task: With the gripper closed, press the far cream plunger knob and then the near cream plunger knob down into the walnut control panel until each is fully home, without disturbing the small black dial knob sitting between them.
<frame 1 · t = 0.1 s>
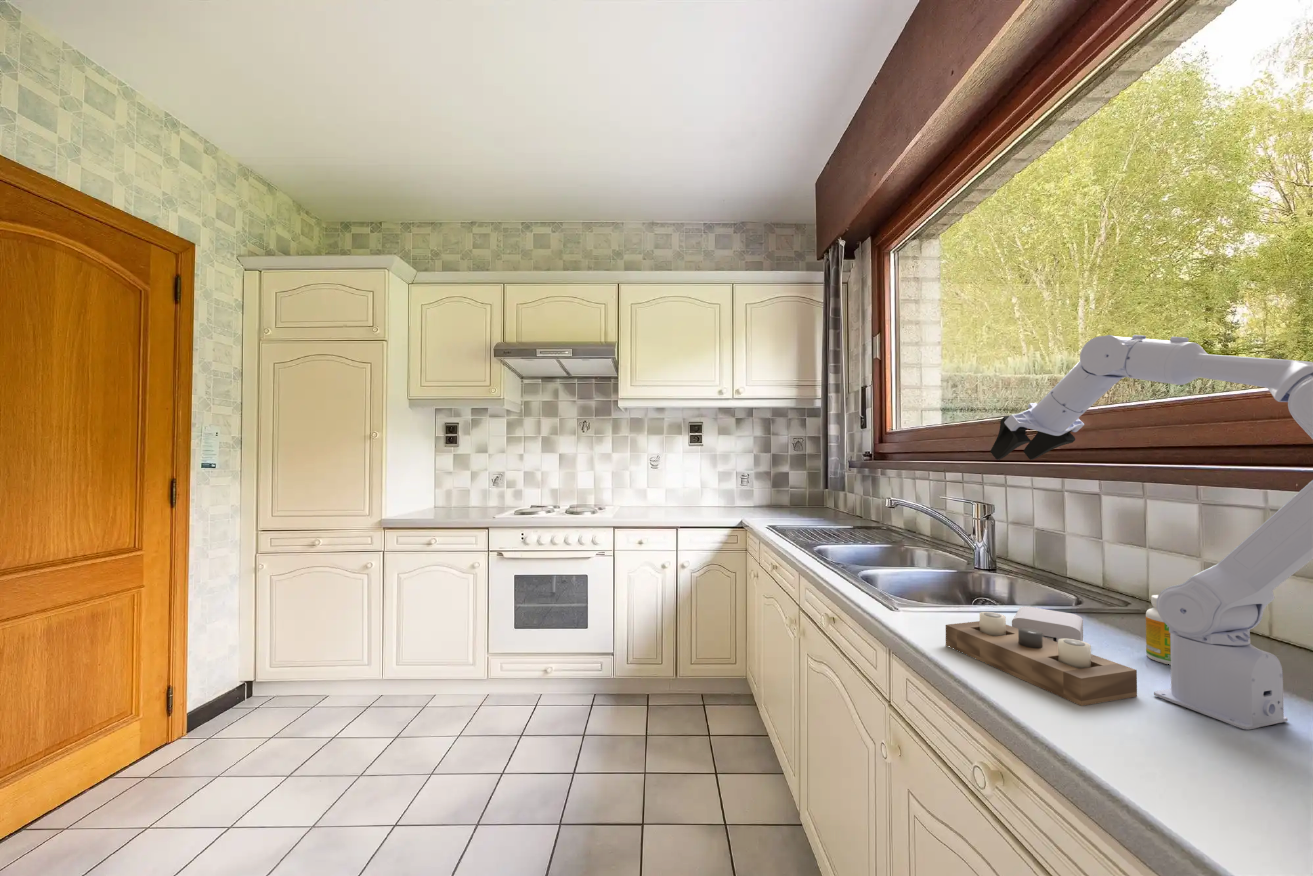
hand: (1011, 455, 97), 32 cm above the countertop, tool tilted 50°, fingers open, 7 cm apart
near knob: (1074, 653, 75), point 4 cm above the countertop, slide at 0.0 cm
knob mount: (1030, 668, 81), on the countertop
supplement bottle: (1169, 661, 85), on the countertop
far knob: (992, 624, 88), point 4 cm above the countertop, slide at 0.0 cm
pot knob: (1030, 644, 81), point 3 cm above the countertop, touching knob mount
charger: (1049, 640, 95), on the countertop
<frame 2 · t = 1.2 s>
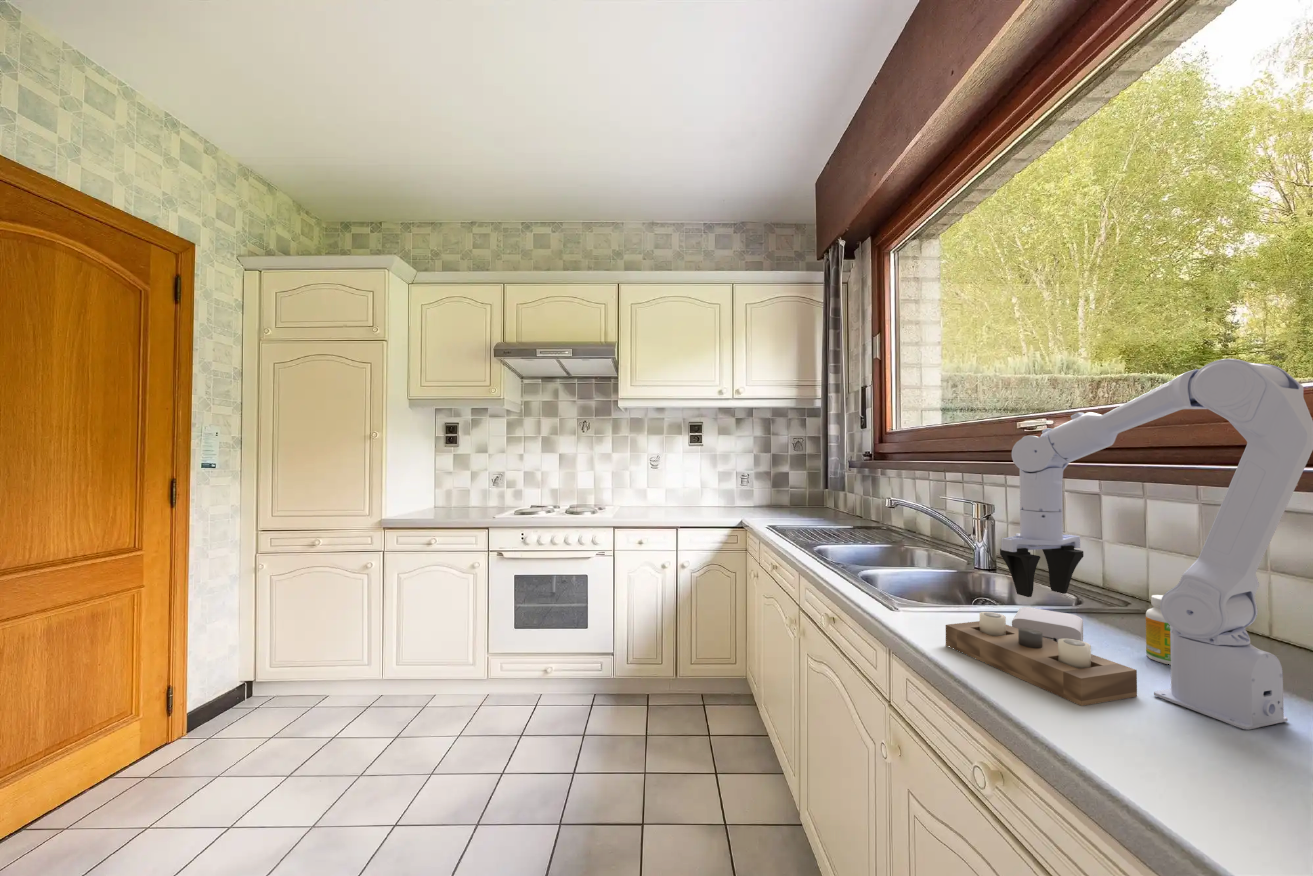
hand: (1041, 593, 88), 9 cm above the countertop, tool pointing down, fingers open, 7 cm apart
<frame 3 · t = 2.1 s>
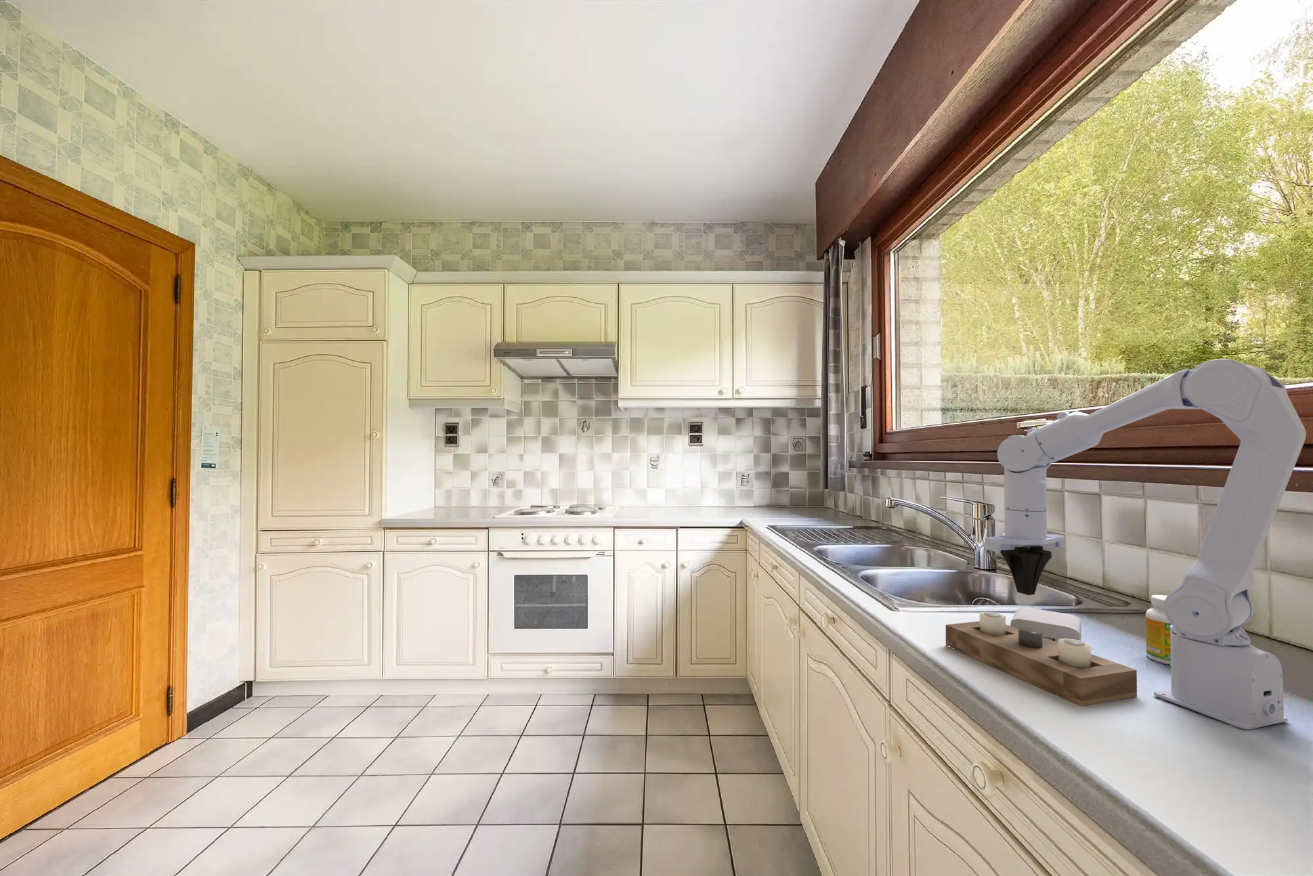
hand: (1025, 593, 88), 9 cm above the countertop, tool pointing down, fingers closed
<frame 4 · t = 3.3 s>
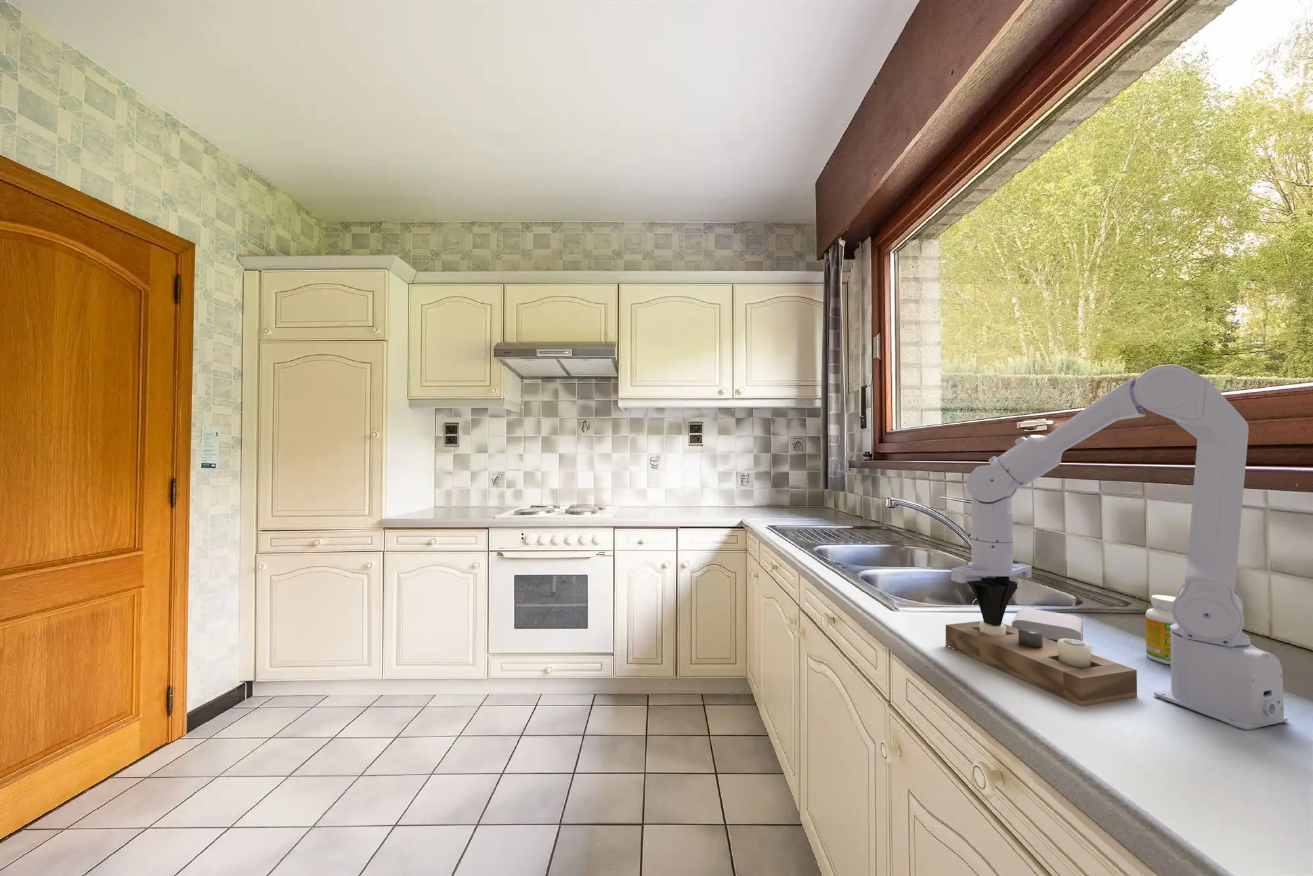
hand: (992, 624, 88), 5 cm above the countertop, tool pointing down, fingers closed, pressing on far knob
far knob: (992, 633, 88), point 3 cm above the countertop, slide at 1.5 cm, touching gripper
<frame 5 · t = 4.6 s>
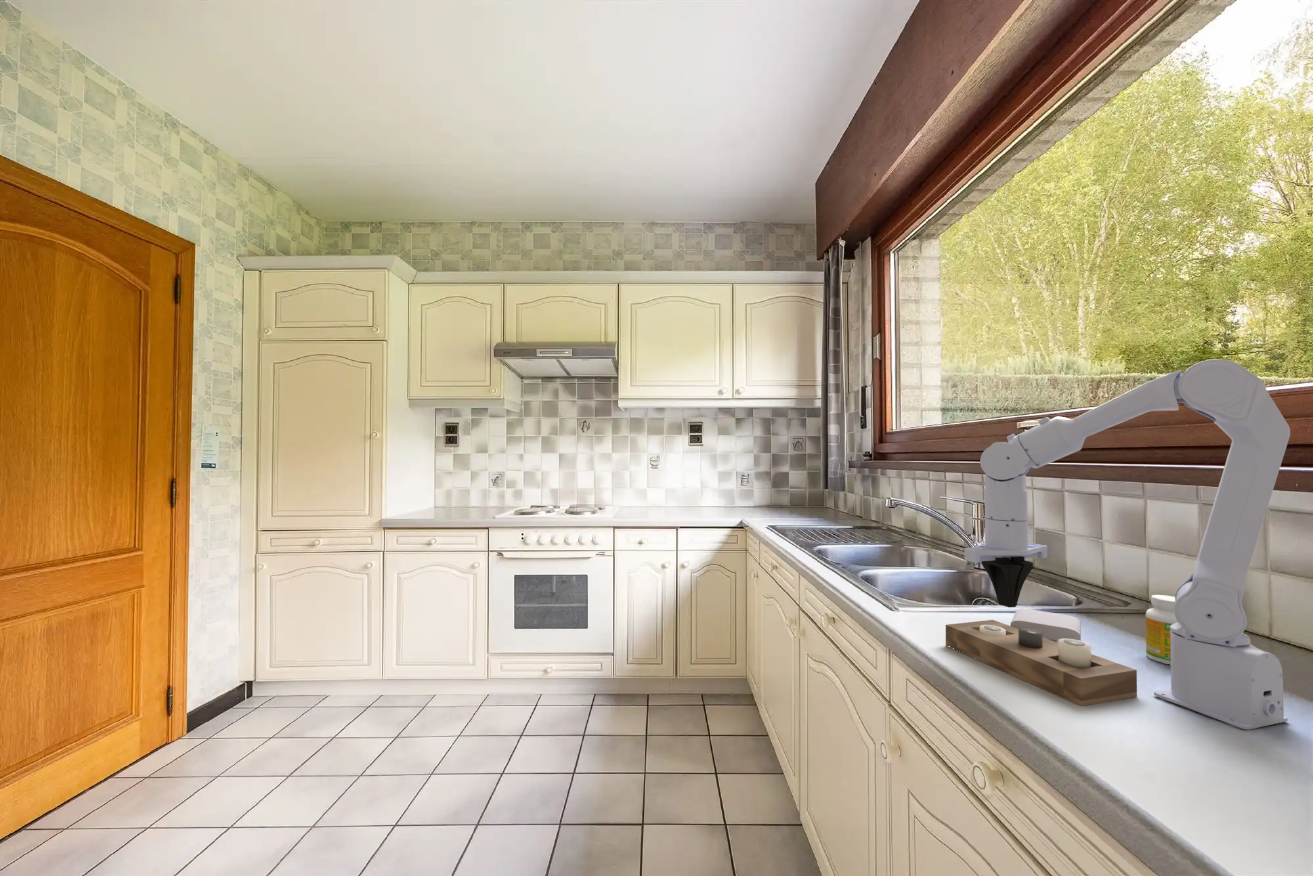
hand: (1007, 605, 85), 8 cm above the countertop, tool pointing down, fingers closed
far knob: (992, 637, 88), point 2 cm above the countertop, slide at 2.1 cm
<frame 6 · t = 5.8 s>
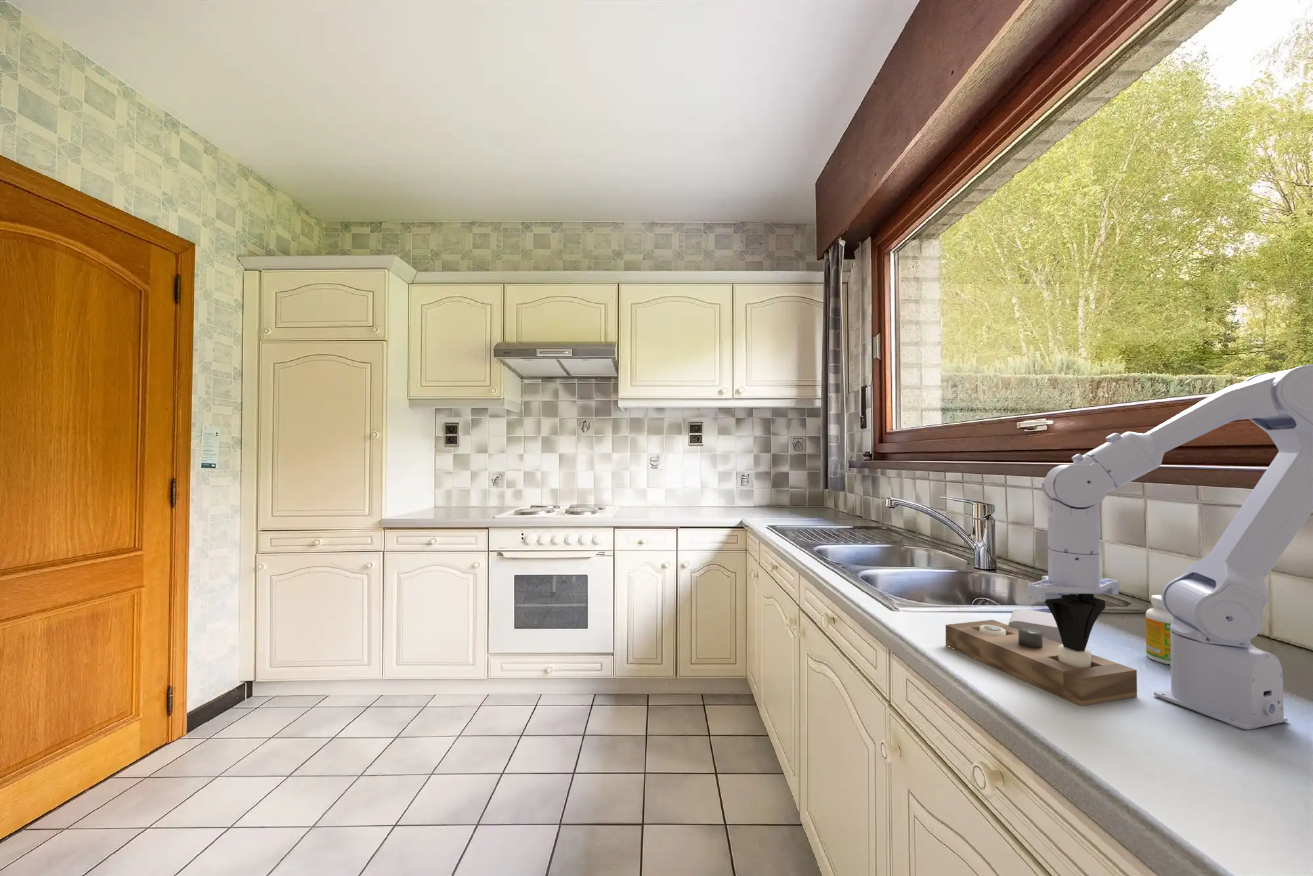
hand: (1073, 648, 75), 5 cm above the countertop, tool pointing down, fingers closed, pressing on near knob
near knob: (1074, 660, 75), point 4 cm above the countertop, slide at 0.9 cm, touching gripper
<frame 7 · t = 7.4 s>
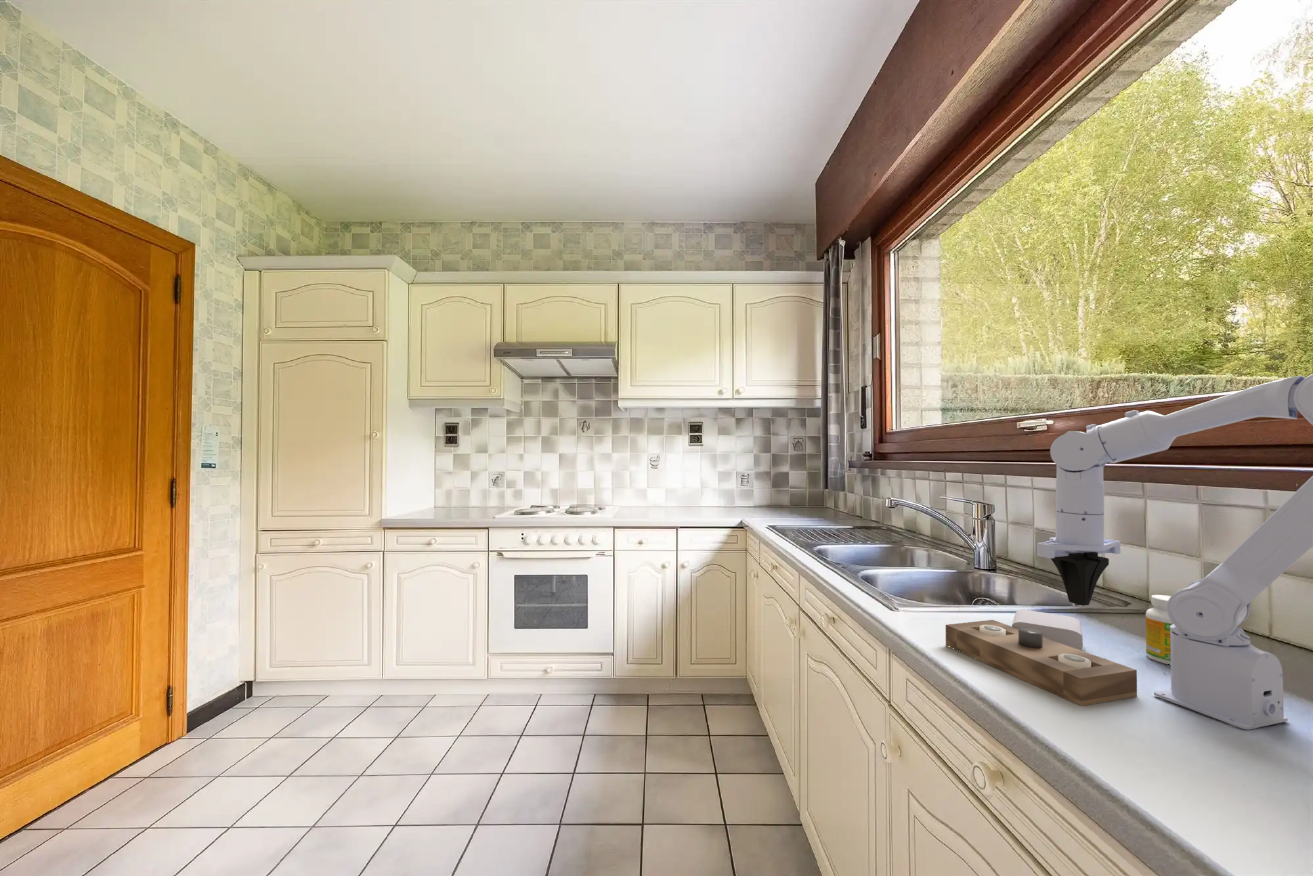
hand: (1078, 603, 81), 10 cm above the countertop, tool pointing down, fingers closed
near knob: (1074, 669, 75), point 2 cm above the countertop, slide at 2.2 cm
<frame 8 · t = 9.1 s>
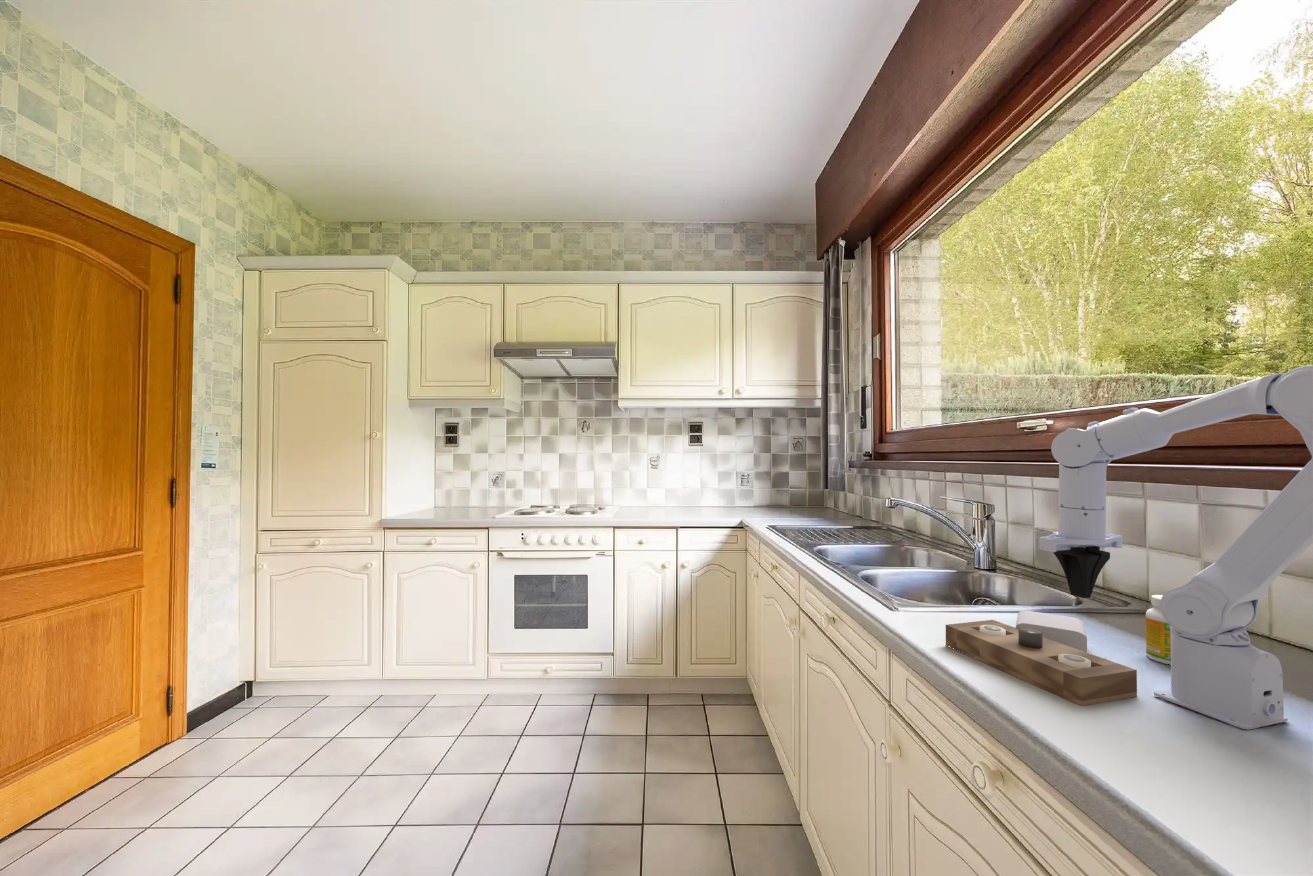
hand: (1080, 596, 83), 10 cm above the countertop, tool pointing down, fingers closed
at the end: far knob slide at 2.1 cm; near knob slide at 2.2 cm; pot knob moved 0.0 cm from its start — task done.
